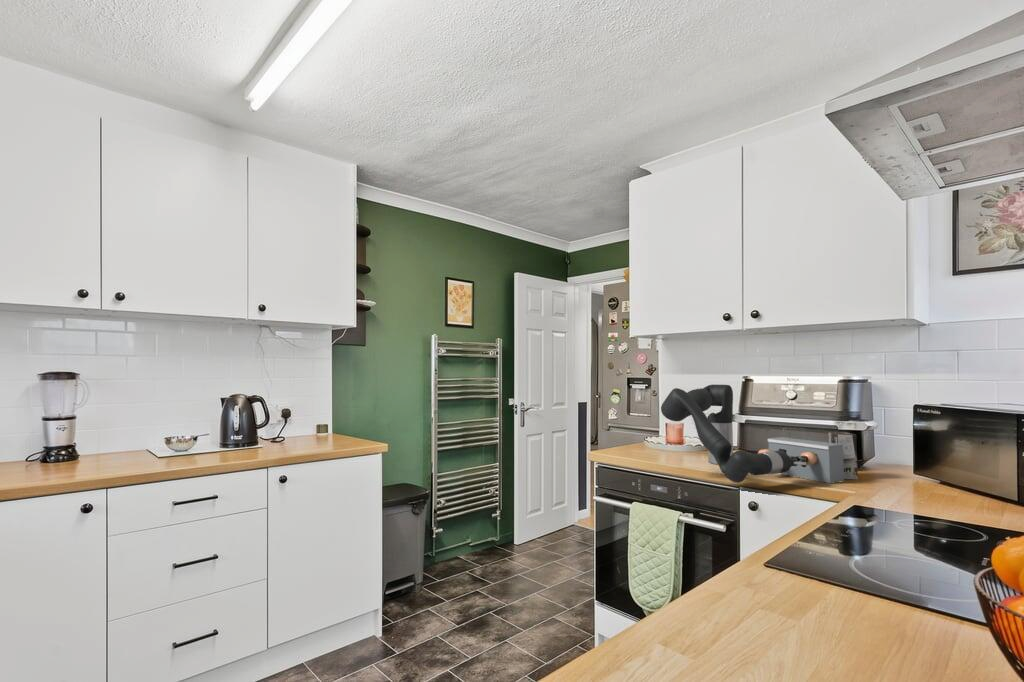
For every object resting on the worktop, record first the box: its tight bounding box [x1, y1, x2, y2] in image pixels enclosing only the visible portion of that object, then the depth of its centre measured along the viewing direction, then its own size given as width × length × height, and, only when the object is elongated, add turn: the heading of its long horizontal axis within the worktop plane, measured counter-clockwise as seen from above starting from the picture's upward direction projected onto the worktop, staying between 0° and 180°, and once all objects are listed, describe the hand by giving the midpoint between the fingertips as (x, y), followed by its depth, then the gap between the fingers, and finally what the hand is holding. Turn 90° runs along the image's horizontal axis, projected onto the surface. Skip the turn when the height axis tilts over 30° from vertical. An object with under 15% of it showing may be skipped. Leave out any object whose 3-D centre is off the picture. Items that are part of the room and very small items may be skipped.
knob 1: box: [757, 448, 787, 454], centre depth 202 cm, size 4×12×4 cm, turn 117°
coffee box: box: [828, 431, 859, 480], centre depth 200 cm, size 9×6×16 cm
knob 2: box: [801, 452, 817, 465], centre depth 194 cm, size 4×12×4 cm, turn 117°
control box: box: [767, 436, 845, 484], centre depth 200 cm, size 24×8×13 cm, turn 27°
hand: (805, 458), depth 192 cm, fingers closed
